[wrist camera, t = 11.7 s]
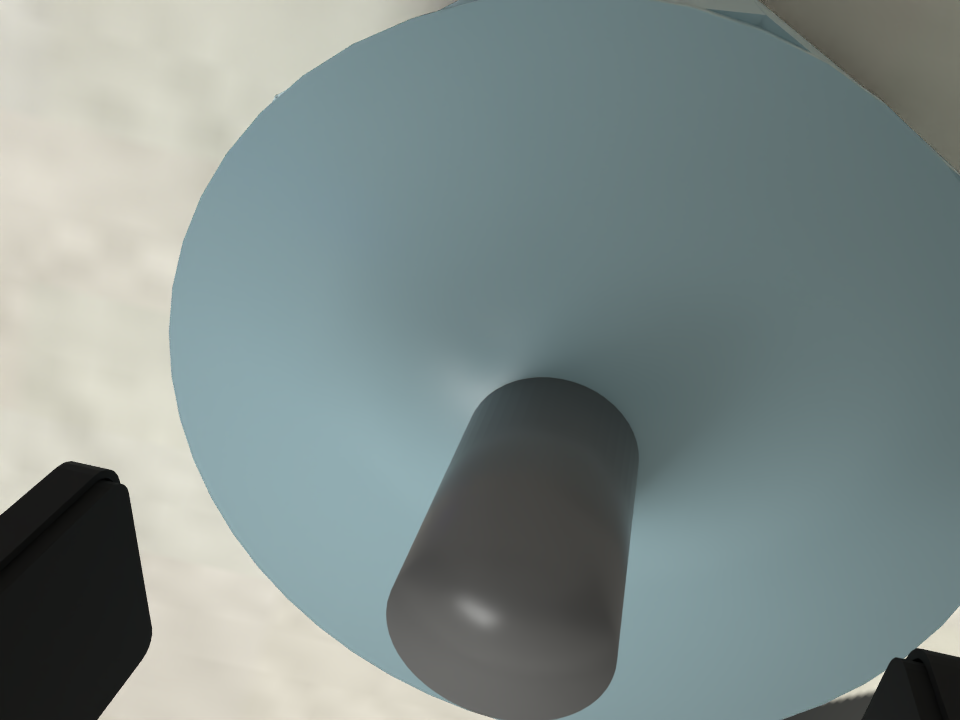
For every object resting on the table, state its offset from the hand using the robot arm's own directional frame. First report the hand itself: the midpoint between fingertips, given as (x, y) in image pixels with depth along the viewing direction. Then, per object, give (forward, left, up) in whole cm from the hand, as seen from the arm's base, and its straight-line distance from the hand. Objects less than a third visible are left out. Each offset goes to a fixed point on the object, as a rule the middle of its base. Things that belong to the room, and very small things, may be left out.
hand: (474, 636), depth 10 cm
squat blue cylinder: (0, 0, -12) cm, 12 cm away
